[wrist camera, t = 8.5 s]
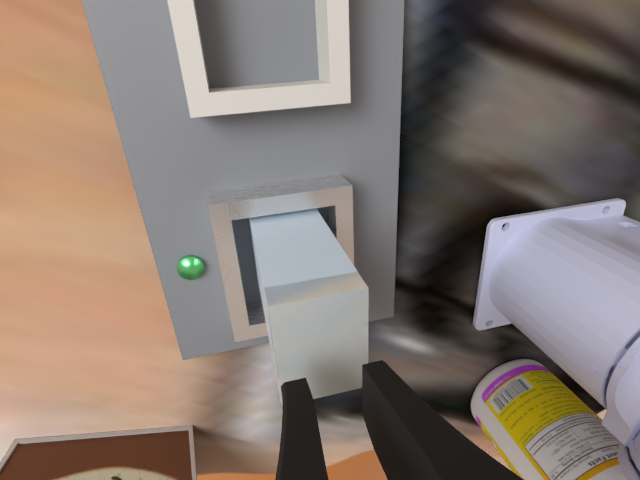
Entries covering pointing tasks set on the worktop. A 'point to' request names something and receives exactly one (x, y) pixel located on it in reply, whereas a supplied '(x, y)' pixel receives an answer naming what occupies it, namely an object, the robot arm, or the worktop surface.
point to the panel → (250, 139)
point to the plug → (310, 302)
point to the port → (264, 202)
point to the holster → (266, 96)
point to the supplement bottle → (543, 425)
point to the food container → (104, 456)
